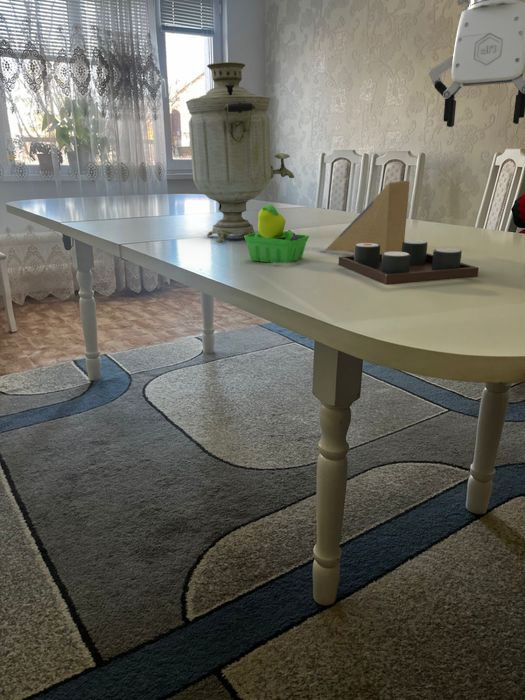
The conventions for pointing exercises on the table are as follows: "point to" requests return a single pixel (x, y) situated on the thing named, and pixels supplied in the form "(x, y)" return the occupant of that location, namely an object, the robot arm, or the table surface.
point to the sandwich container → (379, 222)
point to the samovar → (231, 147)
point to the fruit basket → (274, 239)
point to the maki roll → (367, 254)
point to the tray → (414, 273)
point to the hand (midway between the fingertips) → (482, 124)
